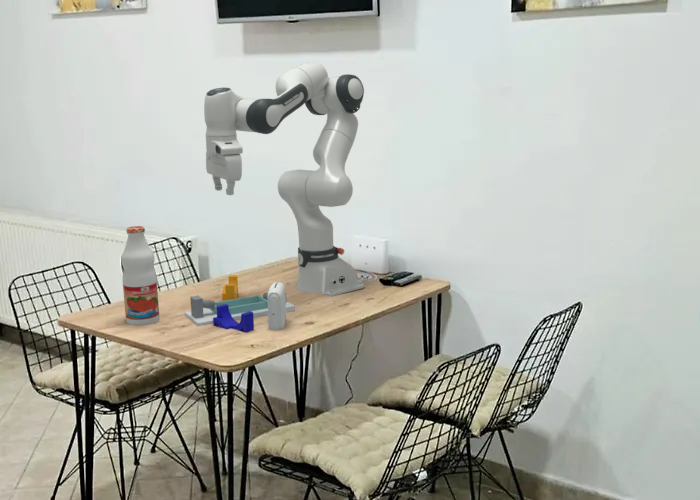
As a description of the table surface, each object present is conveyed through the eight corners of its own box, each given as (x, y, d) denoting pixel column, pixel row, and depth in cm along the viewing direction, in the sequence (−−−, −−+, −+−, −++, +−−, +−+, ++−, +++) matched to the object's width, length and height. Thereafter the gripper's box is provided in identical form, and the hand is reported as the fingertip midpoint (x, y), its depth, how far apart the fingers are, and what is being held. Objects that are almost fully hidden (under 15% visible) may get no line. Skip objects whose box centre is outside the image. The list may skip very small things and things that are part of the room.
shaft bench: (278, 300, 260) (277, 278, 259) (294, 310, 250) (294, 287, 248) (184, 316, 246) (183, 293, 245) (198, 328, 236) (196, 304, 234)
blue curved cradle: (213, 328, 237) (212, 307, 235) (225, 323, 240) (224, 303, 239) (241, 337, 229) (240, 316, 228) (254, 332, 232) (253, 312, 231)
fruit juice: (155, 315, 248) (148, 222, 241) (163, 325, 239) (156, 228, 233) (123, 320, 244) (115, 226, 237) (129, 330, 236) (121, 232, 229)
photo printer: (282, 332, 232) (281, 289, 229) (267, 332, 232) (265, 289, 229) (287, 320, 242) (286, 278, 239) (272, 320, 242) (271, 278, 239)
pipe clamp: (224, 295, 268) (223, 275, 266) (238, 294, 268) (237, 275, 266) (220, 306, 256) (219, 286, 254) (234, 306, 256) (233, 285, 255)
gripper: (199, 142, 251) (202, 188, 254) (223, 149, 233) (226, 198, 236) (219, 141, 254) (222, 186, 257) (244, 147, 236) (247, 196, 239)
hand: (224, 192), depth 247 cm, fingers open, 8 cm apart
